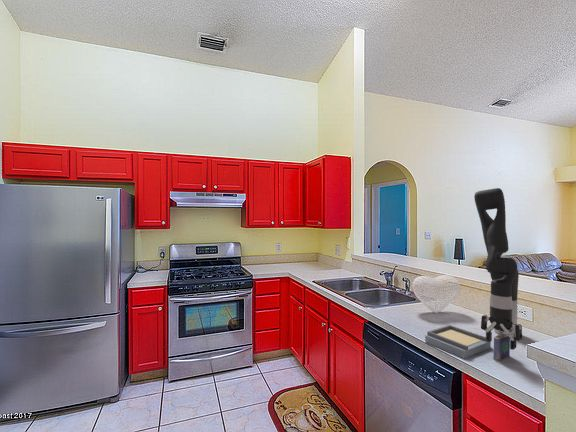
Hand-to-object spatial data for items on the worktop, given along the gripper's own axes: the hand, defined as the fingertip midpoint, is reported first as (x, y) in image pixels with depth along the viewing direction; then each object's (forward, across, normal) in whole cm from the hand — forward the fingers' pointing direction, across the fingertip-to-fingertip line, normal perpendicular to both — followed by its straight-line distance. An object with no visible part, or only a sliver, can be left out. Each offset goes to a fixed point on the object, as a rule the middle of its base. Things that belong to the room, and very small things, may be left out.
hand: (500, 345), depth 122 cm
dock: (+5, +16, +4) cm, 17 cm away
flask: (+5, 0, 0) cm, 5 cm away
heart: (+5, +48, -28) cm, 56 cm away
